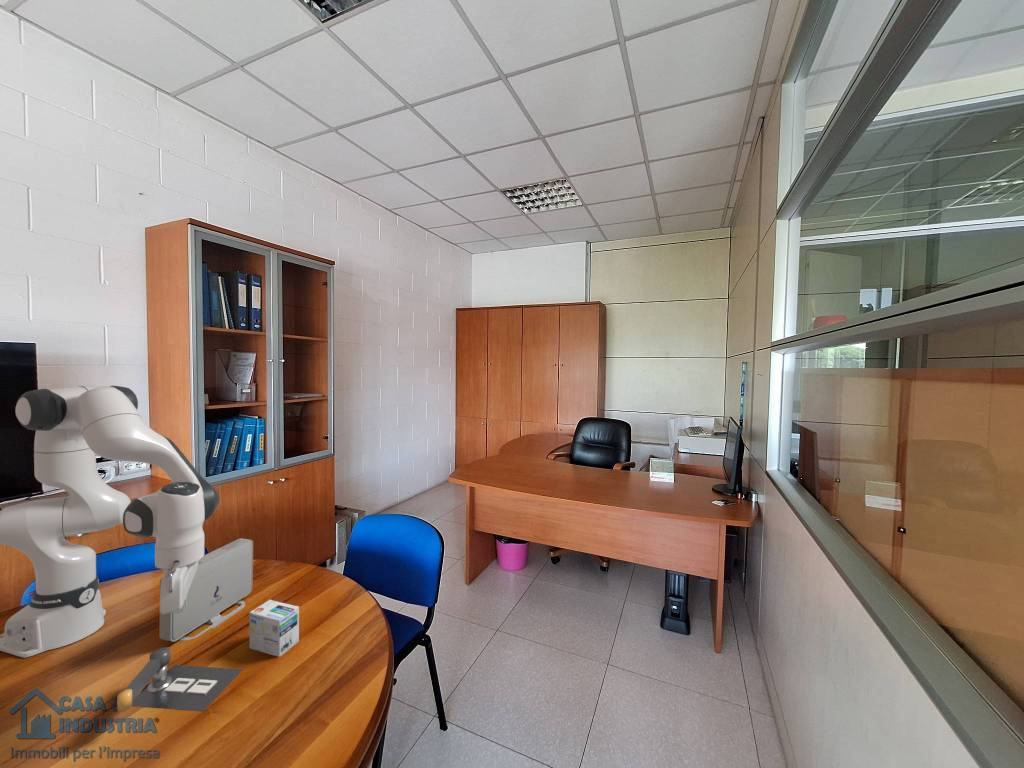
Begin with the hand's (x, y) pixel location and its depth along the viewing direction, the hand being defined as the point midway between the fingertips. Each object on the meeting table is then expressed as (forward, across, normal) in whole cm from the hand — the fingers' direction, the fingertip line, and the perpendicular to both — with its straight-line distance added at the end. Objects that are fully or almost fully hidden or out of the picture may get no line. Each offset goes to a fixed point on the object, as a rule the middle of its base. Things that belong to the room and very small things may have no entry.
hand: (180, 610), depth 91 cm
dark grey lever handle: (+14, -3, +6) cm, 15 cm away
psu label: (+18, 0, 0) cm, 18 cm away
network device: (+19, +27, -2) cm, 33 cm away
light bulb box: (+19, +5, -19) cm, 28 cm away
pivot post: (+19, +3, +4) cm, 20 cm away
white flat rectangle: (+18, -3, -5) cm, 19 cm away
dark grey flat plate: (+19, -1, -2) cm, 19 cm away
